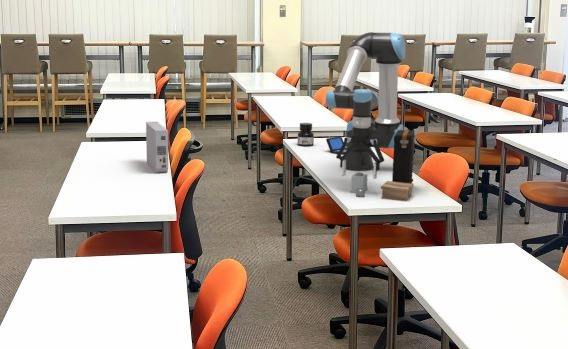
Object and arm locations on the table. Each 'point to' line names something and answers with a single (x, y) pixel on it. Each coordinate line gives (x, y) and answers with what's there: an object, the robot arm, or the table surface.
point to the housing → (358, 182)
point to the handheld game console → (335, 144)
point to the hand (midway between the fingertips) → (359, 177)
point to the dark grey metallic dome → (360, 192)
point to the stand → (396, 190)
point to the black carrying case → (403, 156)
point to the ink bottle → (305, 135)
